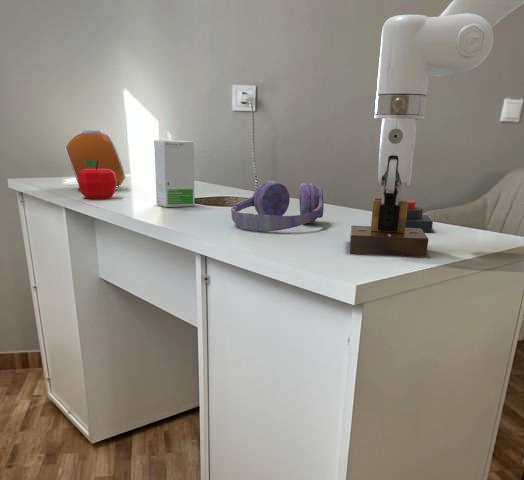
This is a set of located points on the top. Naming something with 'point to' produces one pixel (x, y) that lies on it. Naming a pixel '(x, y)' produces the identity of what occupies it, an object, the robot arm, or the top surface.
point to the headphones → (278, 207)
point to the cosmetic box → (174, 173)
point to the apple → (96, 181)
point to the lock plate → (388, 242)
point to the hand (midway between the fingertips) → (387, 228)
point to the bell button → (411, 205)
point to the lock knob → (402, 215)
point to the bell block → (418, 220)
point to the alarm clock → (94, 153)
